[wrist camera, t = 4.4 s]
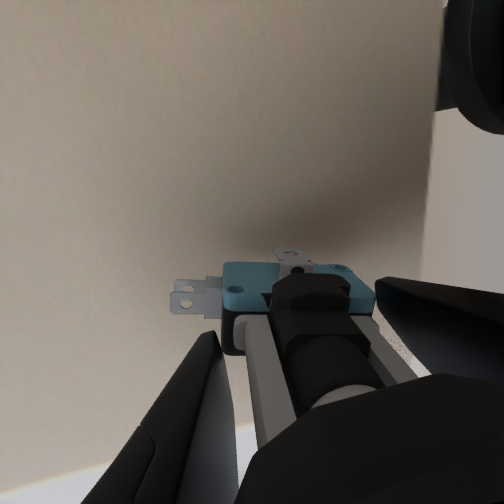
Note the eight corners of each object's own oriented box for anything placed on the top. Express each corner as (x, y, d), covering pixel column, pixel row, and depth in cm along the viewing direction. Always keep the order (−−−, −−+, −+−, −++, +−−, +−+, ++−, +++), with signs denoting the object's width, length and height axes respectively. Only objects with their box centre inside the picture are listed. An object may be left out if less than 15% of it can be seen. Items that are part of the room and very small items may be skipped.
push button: (176, 342, 12) (3, 1138, 2) (176, 209, 10) (-543, 1225, 1) (337, 342, 12) (695, 926, 3) (362, 219, 11) (1333, 695, 1)
